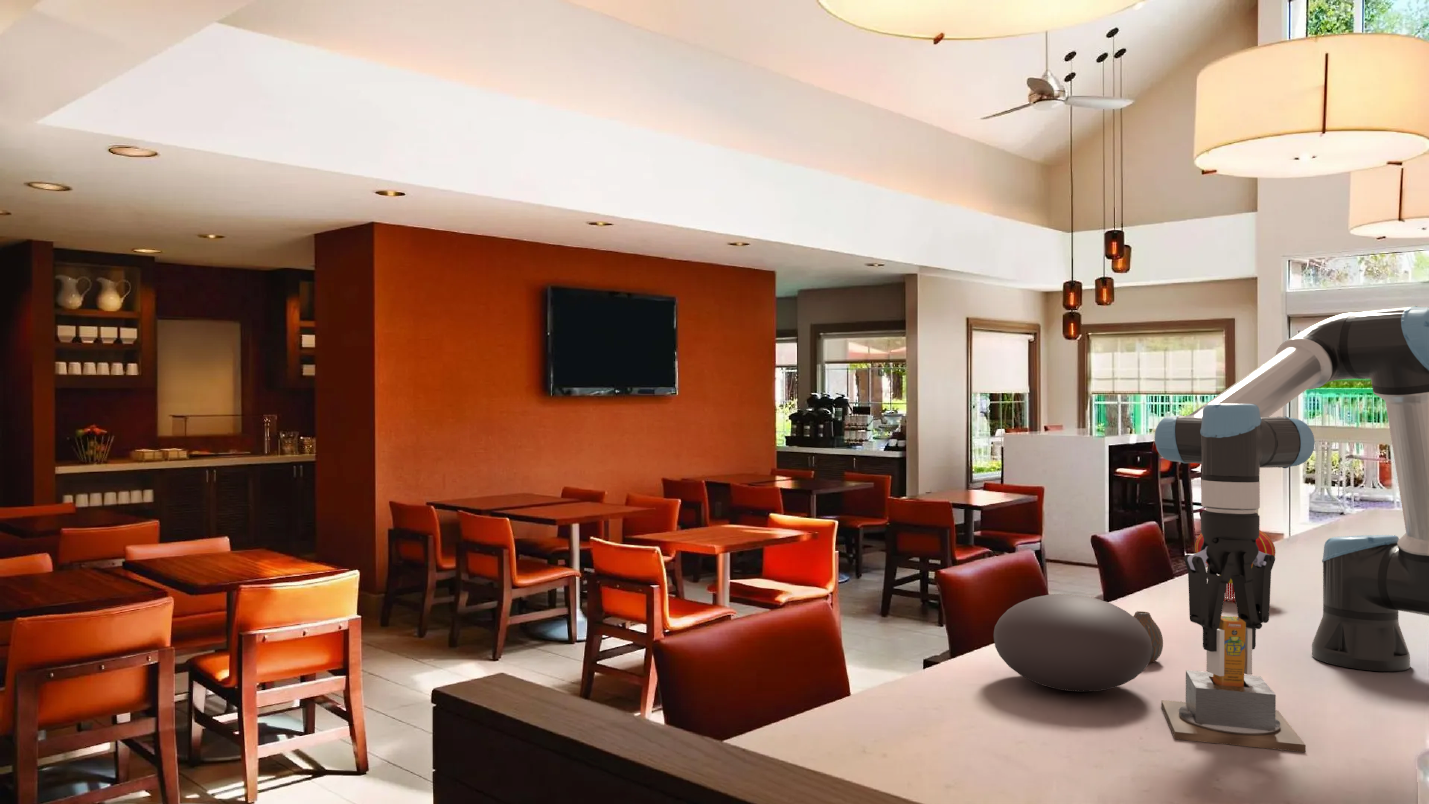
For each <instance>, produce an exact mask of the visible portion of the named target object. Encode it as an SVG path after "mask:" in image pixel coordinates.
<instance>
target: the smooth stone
mask: <svg viewBox="0 0 1429 804" xmlns="http://www.w3.org/2000/svg"><path fill="white" fill-rule="evenodd" d="M1133 616H1134V615H1133V614H1130V612H1128V611H1127V610H1125V609H1123V608H1121V607H1119V606H1117V605H1115V604H1113V603H1111V602H1108V601H1105V600H1102V599H1099V598H1095V597H1091V596H1087V595H1080V594H1079V595H1078V594H1072V593H1071V594H1068V593H1063V594H1061V593H1058V594H1057V593H1054V594H1046V595H1040V596H1035V597H1030V598H1029V599H1025V600H1023V601H1021V602H1018V603H1016V604H1014V605H1012V607H1010V608H1008V609H1007V610H1006V611H1005V612H1004V613H1003V614H1002V615H1001V616H1000V617H999V619H998V620H997V621H996V624H995V625H994V630H993V641H994V648H995V649H996V651H997V653H998V655H999V657H1000V658H1001V659H1002V661H1003V662H1004V663H1006V665H1007V666H1008V667H1009V668H1010V669H1012V670H1013V671H1014V672H1016V674H1018V675H1020V676H1022V678H1023V677H1024V678H1025V679H1027V680H1029V681H1031V682H1034V683H1037V684H1039V685H1040V686H1044V687H1048V688H1052V689H1056V690H1061V691H1069V692H1097V691H1103V690H1109V689H1112V688H1116V687H1119V686H1122V685H1125V684H1127V683H1128V682H1130V681H1132V680H1135V678H1137V677H1138V676H1139V675H1140V674H1141V673H1142V672H1143V671H1145V670H1146V668H1147V666H1148V665H1149V664H1150V663H1149V662H1150V659H1151V654H1152V643H1151V638H1150V637H1149V635H1148V633H1147V631H1146V629H1145V628H1144V627H1143V626H1142V625H1141V623H1140V622H1139V621H1138V620H1137V619H1136V618H1135V617H1133Z"/></svg>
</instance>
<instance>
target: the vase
mask: <svg viewBox="0 0 1429 804" xmlns="http://www.w3.org/2000/svg"><path fill="white" fill-rule="evenodd" d="M1132 616H1133V617H1135V618H1136V619H1137V620H1138V621H1139V622H1140V623H1141V625H1142V626H1143V627H1144V628H1145V629H1146V631H1147V633H1148V635H1149V637H1150V638H1151V643H1152V654H1151V659H1150V662H1149V663H1148V664H1152V663H1155V662H1156V661H1157V660H1158V659H1159V658H1160V656H1161V654H1162V652H1163V648H1164V640H1163V639H1164V638H1163V634H1162V631H1161V629H1160V627H1159V626H1158V625H1157V623H1156V622H1155V620H1154V619H1153V617H1152V616H1151V613H1150V612H1148V611H1144V610H1143V611H1142V610H1141V611H1140V610H1139V611H1138V610H1137V611H1135V613H1134V614H1133V615H1132Z"/></svg>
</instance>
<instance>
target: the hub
mask: <svg viewBox="0 0 1429 804" xmlns="http://www.w3.org/2000/svg"><path fill="white" fill-rule="evenodd" d="M1276 697H1277V696H1276V693H1275V692H1274V691H1273V690H1272V689H1271V687H1270V686H1269V685H1268V683H1266V681H1265V680H1264V679H1263V678H1262V677H1261V676H1260V675H1252V674H1250V675H1247V674H1244V687H1237V686H1225V685H1215V684H1214V683H1213V674H1212V673H1210V672H1207V671H1202V670H1201V671H1200V670H1199V671H1198V670H1189V669H1188V670H1185V702H1186V705H1185V706H1182V707H1181V708H1180V709H1179V717H1180V718H1181V719H1182V720H1184V721H1185V722H1187V723H1189V724H1191V725H1194V726H1197V727H1200V728H1203V729H1207V730H1211V731H1216V732H1221V733H1227V734H1235V735H1248V736H1259V735H1269V734H1274V733H1276V732H1278V731H1279V730H1280V722H1279V721H1278V720H1277V719H1276V718H1275V714H1276V711H1277V710H1276V709H1277V708H1276V706H1277V705H1276V702H1277V701H1276V699H1277V698H1276Z"/></svg>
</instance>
